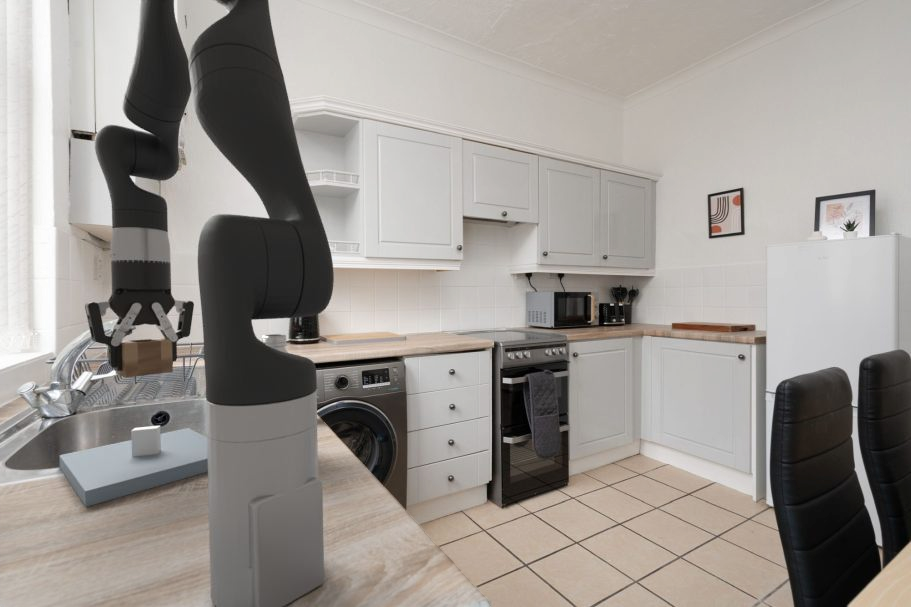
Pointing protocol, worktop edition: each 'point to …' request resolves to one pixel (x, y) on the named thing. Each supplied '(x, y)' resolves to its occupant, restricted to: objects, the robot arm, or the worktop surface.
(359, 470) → the worktop surface
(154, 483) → the flat blue-gray panel
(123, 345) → the tan hollow open box
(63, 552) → the worktop surface
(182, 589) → the worktop surface
